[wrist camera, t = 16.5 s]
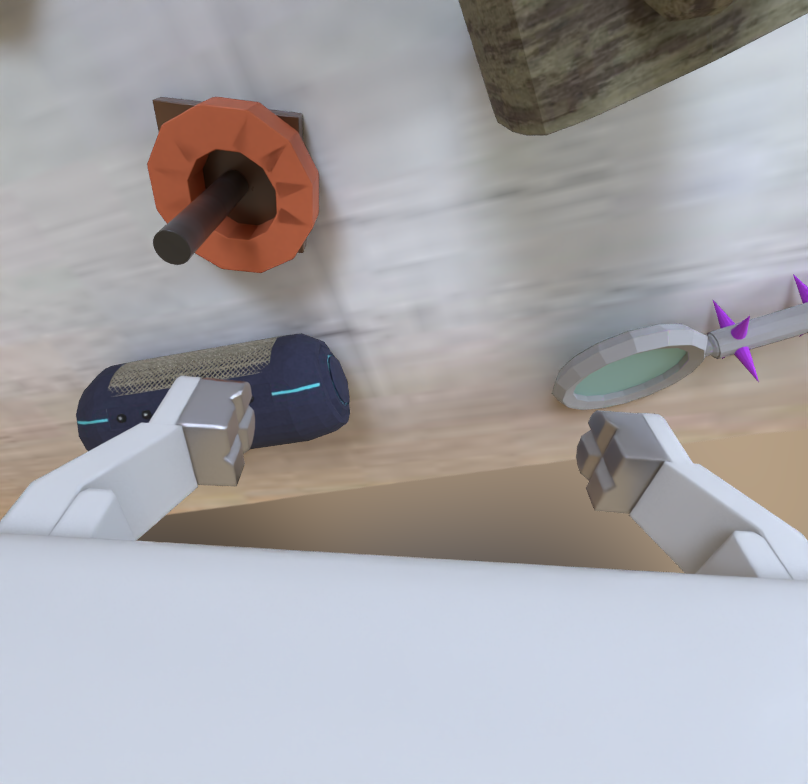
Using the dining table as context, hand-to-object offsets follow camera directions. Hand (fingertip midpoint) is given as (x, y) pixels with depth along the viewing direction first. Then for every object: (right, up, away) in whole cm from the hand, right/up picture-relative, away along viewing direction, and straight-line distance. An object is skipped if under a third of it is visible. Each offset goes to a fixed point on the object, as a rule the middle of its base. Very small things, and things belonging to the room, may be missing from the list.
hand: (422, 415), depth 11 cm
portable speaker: (-18, +3, +38) cm, 42 cm away
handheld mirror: (+28, +7, +34) cm, 45 cm away
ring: (-13, +16, +25) cm, 32 cm away
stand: (-13, +17, +26) cm, 34 cm away
